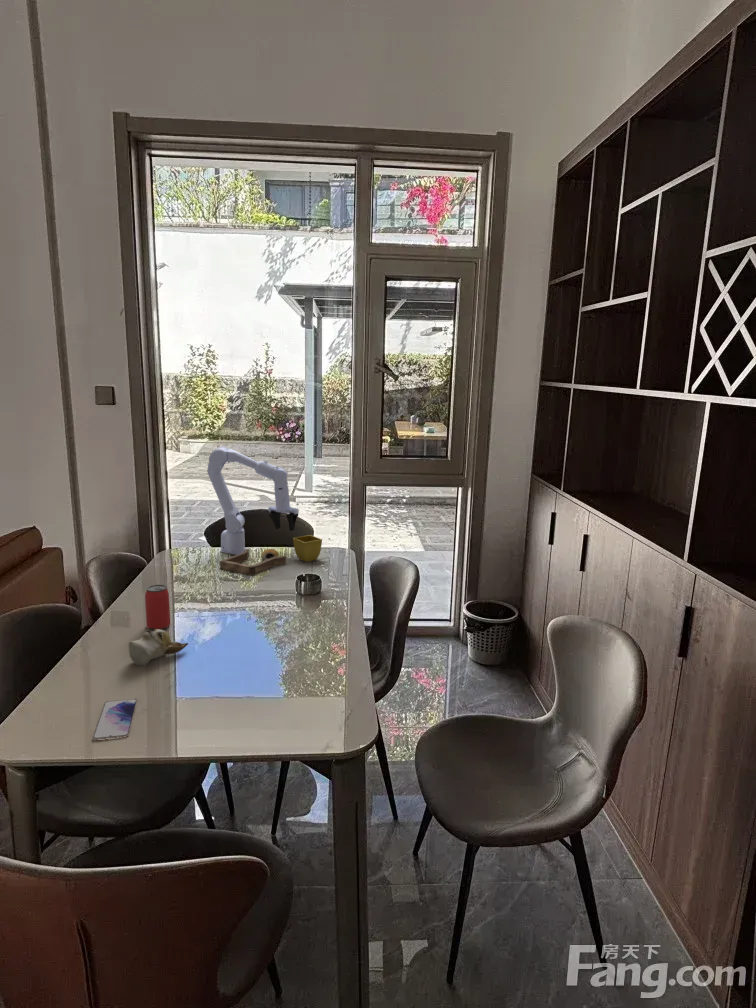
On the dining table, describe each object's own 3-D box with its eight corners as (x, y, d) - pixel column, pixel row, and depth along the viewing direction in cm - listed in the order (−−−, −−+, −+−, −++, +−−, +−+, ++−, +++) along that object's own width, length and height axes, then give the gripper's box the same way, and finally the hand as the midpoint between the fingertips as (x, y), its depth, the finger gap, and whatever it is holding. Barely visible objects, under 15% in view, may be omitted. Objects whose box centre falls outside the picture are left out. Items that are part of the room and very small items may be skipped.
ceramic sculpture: (115, 631, 154) (162, 615, 167) (115, 663, 156) (162, 644, 169) (144, 641, 149) (190, 623, 162) (144, 674, 151) (189, 654, 164)
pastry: (263, 554, 253) (263, 545, 252) (279, 554, 253) (279, 545, 253) (261, 561, 244) (261, 551, 243) (278, 561, 244) (278, 551, 243)
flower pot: (310, 555, 252) (310, 534, 250) (322, 560, 245) (322, 539, 243) (292, 559, 246) (292, 537, 244) (304, 564, 240) (304, 542, 238)
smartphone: (137, 698, 139) (128, 735, 125) (138, 701, 139) (128, 739, 125) (104, 701, 137) (91, 739, 123) (104, 704, 137) (91, 743, 123)
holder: (215, 567, 234) (215, 560, 233) (246, 555, 250) (246, 548, 249) (257, 576, 224) (257, 568, 224) (287, 563, 240) (286, 556, 240)
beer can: (162, 631, 175) (160, 592, 173) (142, 629, 177) (139, 590, 174) (174, 622, 182) (172, 584, 179) (154, 620, 183) (152, 582, 180)
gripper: (302, 496, 250) (304, 528, 253) (275, 494, 258) (277, 525, 261) (291, 500, 244) (293, 532, 247) (263, 498, 252) (266, 529, 255)
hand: (284, 529), depth 254 cm, fingers open, 7 cm apart
